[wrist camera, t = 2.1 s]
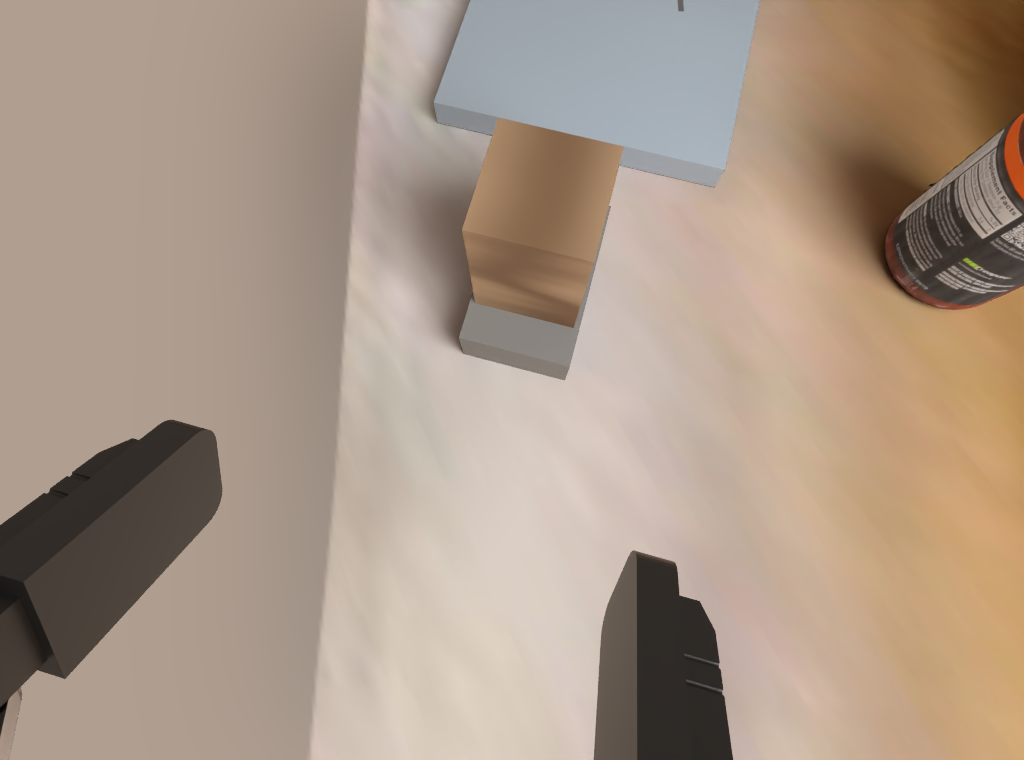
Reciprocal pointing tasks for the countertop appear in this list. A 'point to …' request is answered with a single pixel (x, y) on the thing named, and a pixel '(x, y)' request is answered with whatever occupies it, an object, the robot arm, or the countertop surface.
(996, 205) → the supplement bottle
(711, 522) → the countertop surface
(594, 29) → the board
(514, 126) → the block
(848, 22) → the countertop surface
